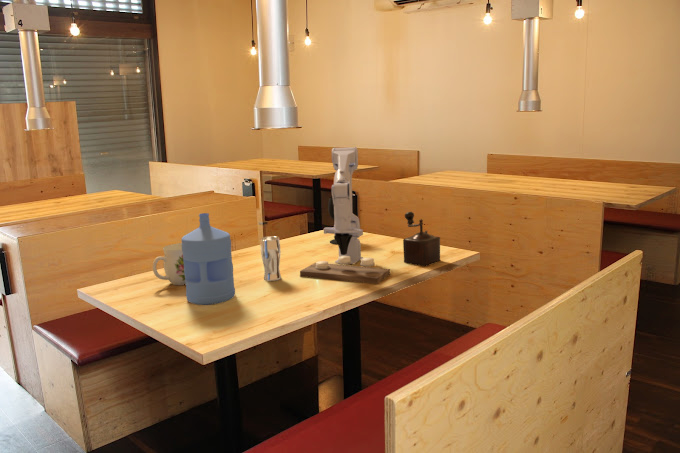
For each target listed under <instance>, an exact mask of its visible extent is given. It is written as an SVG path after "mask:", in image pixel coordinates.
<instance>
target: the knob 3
mask: <svg viewBox="0 0 680 453" xmlns="http://www.w3.org/2000/svg"><path fill="white" fill-rule="evenodd" d="M374 260H375V259H374V258H373V257H363V258H362V259H361V260H360V263H359V265H360V266H361V267H373V266H375V261H374Z"/></svg>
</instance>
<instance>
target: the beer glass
mask: <svg viewBox="0 0 680 453" xmlns="http://www.w3.org/2000/svg"><path fill="white" fill-rule="evenodd" d="M281 252H282V251H281V243H280V237H279V236H275V235H271V236H270V235H269V236H264V237H261V238H260V255H261V259H262V264H263V268H264V274H263V279H264V280H263V281H266V282H277V281H279V280H282V275H281V271H280V264H281Z"/></svg>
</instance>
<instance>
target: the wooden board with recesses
mask: <svg viewBox="0 0 680 453" xmlns="http://www.w3.org/2000/svg"><path fill="white" fill-rule="evenodd" d="M328 265H329V268H328V269H325V270H318V269H316V267H315V266H316V262H314V263H312V264H310V265H309V266H307V267H305V268H303V269H301V270H299V276H300V277H303V278H304V277H305V278H314V279H322V280H332V281H333V280H334V281H344V282H353V283H354V282H355V283H364V284H372V285H374V284H375V285H378V284H380V282H382V281H383V280H385V279H386V278H387V277H389V276H390V275H391V269H390V268H383V267H381V268H380V267H373V266H370V267H364V266H361V265H360V266H358V265H350V264H346V265H341V264H338V263H328ZM388 275H389V276H388Z"/></svg>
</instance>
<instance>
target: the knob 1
mask: <svg viewBox="0 0 680 453" xmlns="http://www.w3.org/2000/svg"><path fill="white" fill-rule="evenodd" d="M315 263H316V266H315V267H316V269H318V270H325V269H328V268H329V265H328V264H329V261H327V260H318V261H316V262H315Z"/></svg>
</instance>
